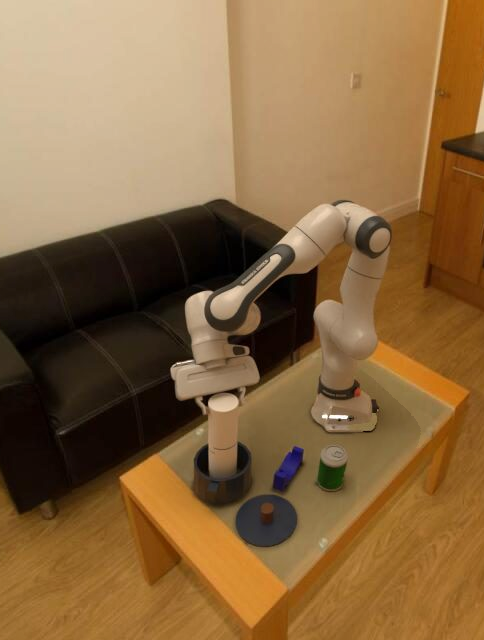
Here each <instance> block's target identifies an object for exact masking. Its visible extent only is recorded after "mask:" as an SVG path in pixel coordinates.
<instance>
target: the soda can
mask: <svg viewBox="0 0 484 640" xmlns="http://www.w3.org/2000/svg"><path fill="white" fill-rule="evenodd" d="M348 457H349V455H348V452H347V450H345V449H344V447H342V446H340V445H338V444H330V445H328V446H325V447H324V448H323V449H321V452H320V458H319V465H318V471H317V479H316V482H317V485H318V486H319V487H320V488H321V489H322V490H324V491H326V492H336V491H338V490H340V489H341V488H342V487H343V485H344V481H345V476H346V470H347V465H348V460H349V458H348Z"/></svg>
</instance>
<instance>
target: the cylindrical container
mask: <svg viewBox="0 0 484 640" xmlns="http://www.w3.org/2000/svg"><path fill="white" fill-rule="evenodd" d="M238 399H239V397H237V396H236V395H235V394H233V393H229V392H219V393H215V394H213V395H212V396H211V397H210V398H209V399H208V401H207V403H208V404H207V406H209V410H210V414H207V418H208V419H207V420H208V421H207V422H208V424H207V425H208V426H207V427H208V428H207V432H208V434H207V435H208V441H207V442H208V443H209V469H208V477H212V478H216V479H223V478H228V477H232V476H235V475H237V471H238V469H237V468H238V467H237V441H238V435H239V434H238V433H239V407H238V405H239V401H238Z"/></svg>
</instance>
